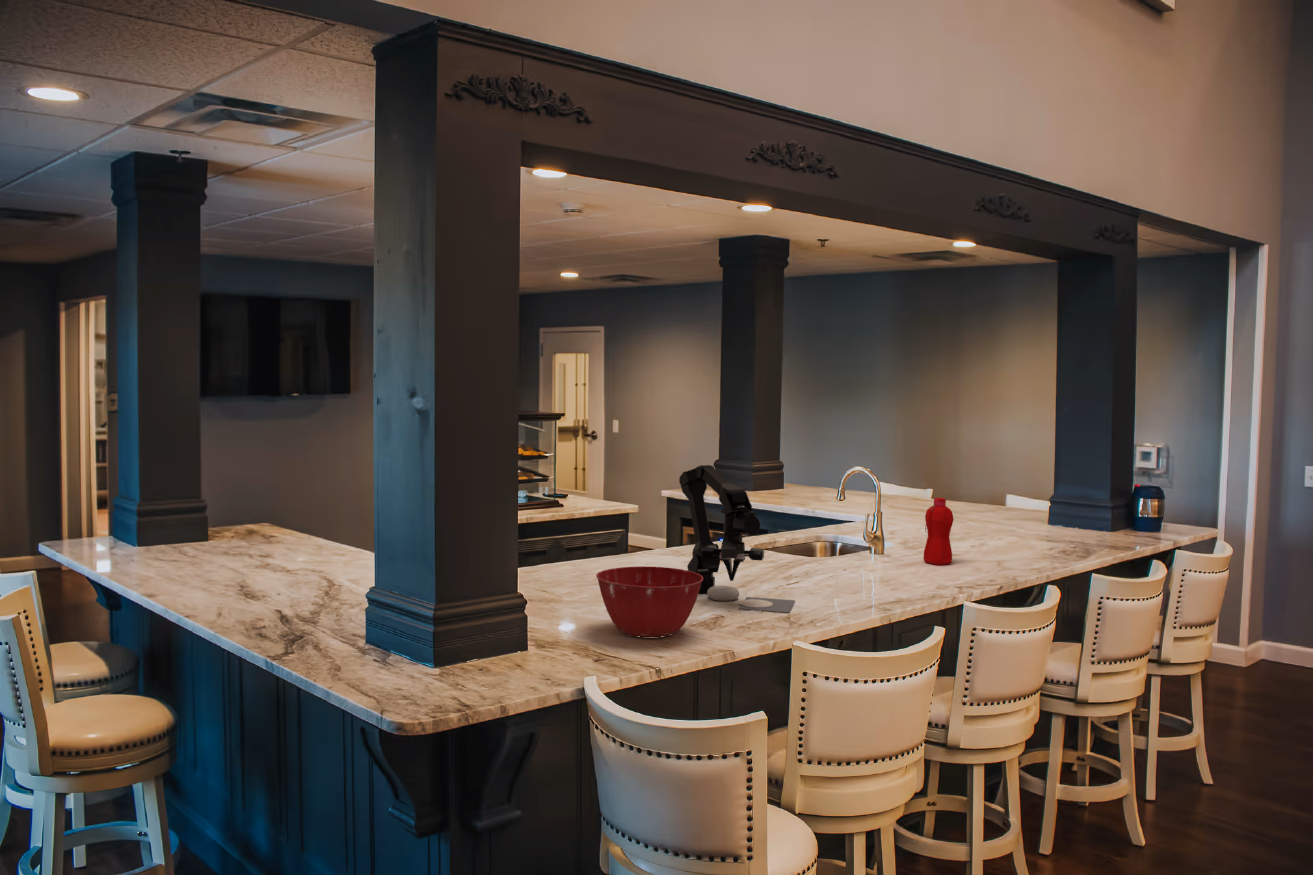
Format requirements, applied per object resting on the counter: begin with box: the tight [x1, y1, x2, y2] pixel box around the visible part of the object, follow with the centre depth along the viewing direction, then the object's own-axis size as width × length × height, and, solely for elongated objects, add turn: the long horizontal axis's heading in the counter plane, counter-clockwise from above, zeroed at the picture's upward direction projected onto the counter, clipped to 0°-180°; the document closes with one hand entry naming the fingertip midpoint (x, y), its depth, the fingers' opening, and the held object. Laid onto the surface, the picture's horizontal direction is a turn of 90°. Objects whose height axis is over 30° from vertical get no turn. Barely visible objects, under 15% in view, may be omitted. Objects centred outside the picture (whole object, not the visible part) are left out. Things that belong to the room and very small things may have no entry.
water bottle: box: [922, 497, 954, 566], centre depth 366 cm, size 9×11×25 cm
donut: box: [706, 585, 740, 602], centre depth 300 cm, size 10×4×10 cm
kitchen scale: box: [738, 596, 796, 614], centre depth 292 cm, size 16×16×1 cm
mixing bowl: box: [595, 566, 703, 637], centre depth 258 cm, size 28×28×16 cm
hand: (731, 580), depth 294 cm, fingers closed
